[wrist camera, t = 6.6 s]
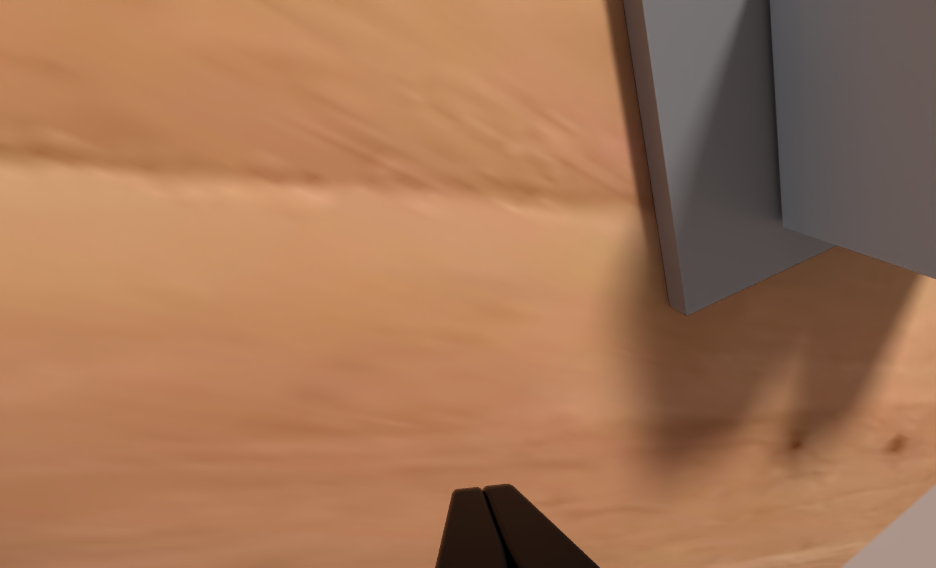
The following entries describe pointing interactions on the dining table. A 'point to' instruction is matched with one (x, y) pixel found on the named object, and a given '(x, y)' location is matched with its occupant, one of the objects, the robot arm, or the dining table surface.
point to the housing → (712, 145)
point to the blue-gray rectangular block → (858, 125)
